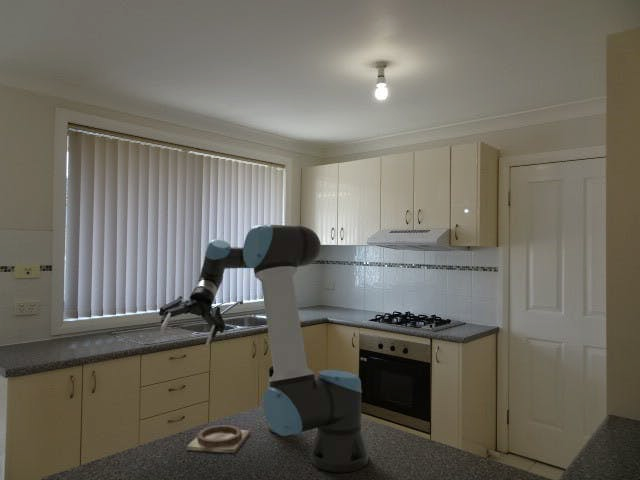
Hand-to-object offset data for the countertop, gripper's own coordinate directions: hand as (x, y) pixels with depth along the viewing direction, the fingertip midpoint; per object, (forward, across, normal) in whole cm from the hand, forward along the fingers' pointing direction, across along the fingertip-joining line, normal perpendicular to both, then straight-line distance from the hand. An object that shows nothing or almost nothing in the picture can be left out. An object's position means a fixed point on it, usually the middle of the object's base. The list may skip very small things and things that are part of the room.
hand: (185, 335), depth 137 cm
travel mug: (+4, -36, -23) cm, 42 cm away
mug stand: (+12, -19, -24) cm, 33 cm away
